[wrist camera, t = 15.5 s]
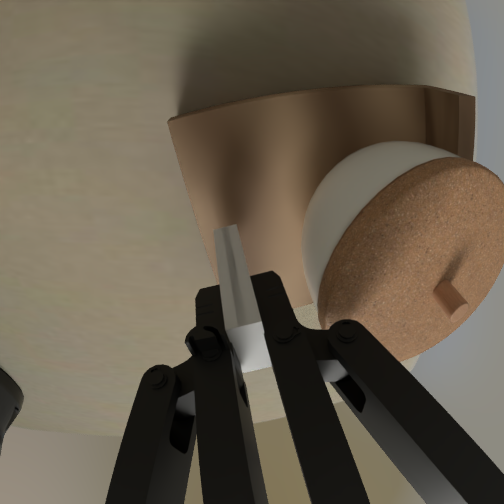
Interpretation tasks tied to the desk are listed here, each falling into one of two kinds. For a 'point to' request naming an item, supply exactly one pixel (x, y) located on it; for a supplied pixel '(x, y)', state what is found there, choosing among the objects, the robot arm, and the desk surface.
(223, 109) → the wooden stand
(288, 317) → the robot arm
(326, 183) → the lidded jar
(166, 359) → the desk surface
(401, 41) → the desk surface
